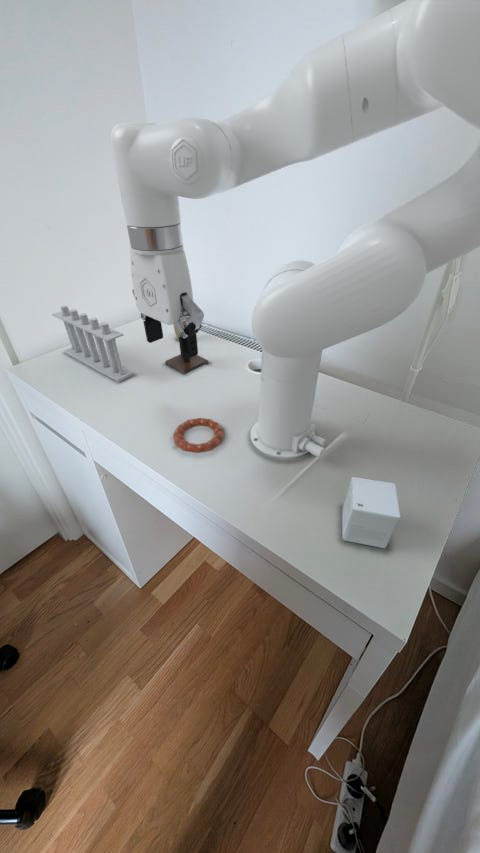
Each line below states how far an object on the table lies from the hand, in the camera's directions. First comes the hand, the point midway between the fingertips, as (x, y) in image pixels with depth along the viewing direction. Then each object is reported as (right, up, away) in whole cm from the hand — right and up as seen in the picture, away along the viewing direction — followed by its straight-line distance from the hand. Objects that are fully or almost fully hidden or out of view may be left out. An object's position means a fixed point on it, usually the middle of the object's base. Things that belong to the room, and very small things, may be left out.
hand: (171, 348), depth 59 cm
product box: (+30, -29, -9) cm, 43 cm away
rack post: (-2, +3, +30) cm, 30 cm away
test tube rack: (-26, +3, +31) cm, 40 cm away
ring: (+4, -15, +6) cm, 17 cm away
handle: (-6, +12, +42) cm, 44 cm away
